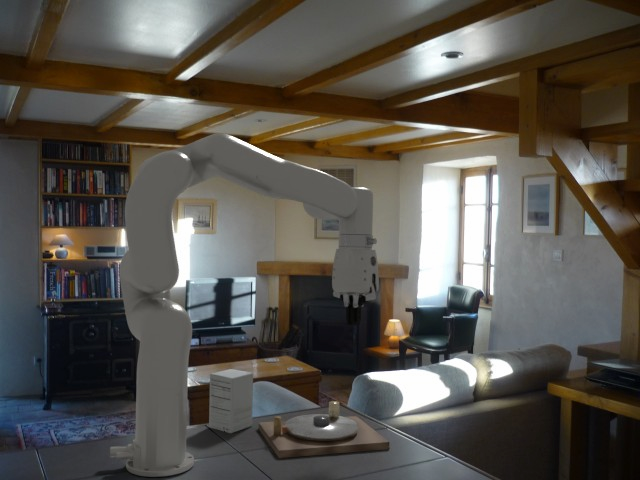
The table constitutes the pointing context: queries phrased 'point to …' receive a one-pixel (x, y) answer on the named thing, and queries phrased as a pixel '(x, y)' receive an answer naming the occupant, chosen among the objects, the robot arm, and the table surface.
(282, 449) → the base board
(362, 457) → the table surface
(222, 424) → the supplement box
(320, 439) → the flange plate
